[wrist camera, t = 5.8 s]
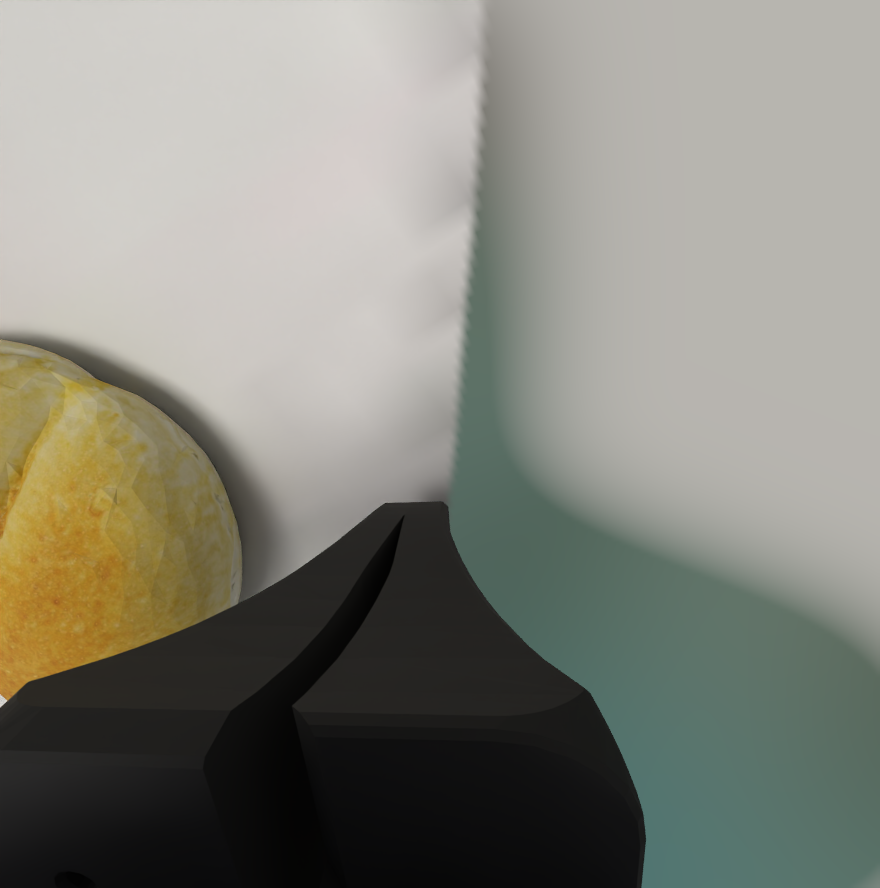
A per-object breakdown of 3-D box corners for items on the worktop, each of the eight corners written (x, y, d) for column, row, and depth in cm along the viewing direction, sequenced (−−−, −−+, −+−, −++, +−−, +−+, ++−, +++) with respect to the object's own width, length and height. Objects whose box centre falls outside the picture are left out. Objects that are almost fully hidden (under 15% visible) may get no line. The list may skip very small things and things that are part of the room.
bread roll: (188, 692, 15) (88, 839, 11) (-107, 533, 14) (-327, 637, 10) (321, 483, 12) (246, 586, 8) (-37, 263, 11) (-306, 268, 7)
